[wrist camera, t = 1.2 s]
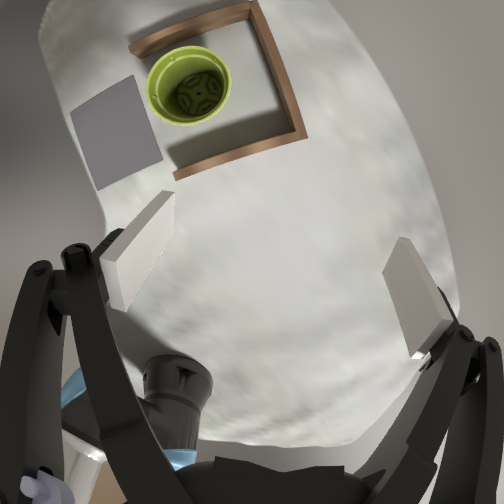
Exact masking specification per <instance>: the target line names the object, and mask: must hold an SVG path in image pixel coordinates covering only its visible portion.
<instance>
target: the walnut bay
mask: <svg viewBox="0 0 504 504" xmlns="http://www.w3.org/2000/svg"><path fill="white" fill-rule="evenodd" d="M248 19H250V20H251V22H252V24H253V27H254V29H255V32H256V34H257V36H258V39H259V41H260V44H261V46H262V49H263V52H264V54H265V57H266V59H267V62H268V65H269V67H270V70H271V73H272V76H273V78H274V81H275V84H276V87H277V90H278V92H279V95H280V98H281V101H282V104H283V107H284V110H285V113H286V116H287V119H288V122H289V125H290V129H291V131H290V132H287V133H283V134H279V135H276V136H272V137H269V138H266V139H262V140H259V141H256V142H252V143H249V144H246V145H243V146H240V147H237V148H234V149H231V150H228V151H225V152H222V153H219V154H216V155H214V156H211V157H208V158H205V159H203V160H200V161H197V162H194V163H192V164H189V165H187V166H184V167H181V168H179V169H178V170H176V171H174V172H173V175H174V178H175V181H178V180H180V179H183V178H185V177H188V176H191V175H193V174H196V173H199V172H201V171H204V170H207V169H210V168H212V167H215V166H218V165H221V164H224V163H227V162H230V161H233V160H236V159H239V158H242V157H245V156H248V155H251V154H254V153H258V152H261V151H264V150H267V149H271V148H274V147H278V146H281V145H285V144H288V143H292V142H295V141H299V140H303V139H307V138H308V136H307V132H306V129H305V126H304V122H303V119H302V116H301V113H300V110H299V107H298V104H297V101H296V98H295V95H294V92H293V89H292V86H291V83H290V80H289V78H288V75H287V72H286V69H285V67H284V64H283V61H282V59H281V56H280V53H279V51H278V48H277V46H276V43H275V41H274V38H273V36H272V33H271V31H270V29H269V26H268V24H267V21H266V19H265V17H264V15H263V12H262V10H261V8H260V6H259V3H258V1H257V0H252V1H248V2H244V3H240V4H236V5H232V6H228V7H225V8H221V9H218V10H215V11H211V12H208V13H205V14H202V15H199V16H196V17H194V18H191V19H188V20H185V21H183V22H180V23H178V24H175V25H173V26H170V27H168V28H165V29H163V30H161V31H158V32H156V33H154V34H152V35H150V36H148V37H145V38H143V39H141V40H139V41H137V42H135V43H133V44H131V45H129V46H128V47H129V50H130V53H131V54H133V55H135V56H137V57H138V58H140V59H142V58H144V57H146V56H148V55H150V54H152V53H154V52H156V51H159V50H161V49H163V48H165V47H168V46H170V45H172V44H175V43H177V42H180V41H182V40H185V39H187V38H190V37H193V36H195V35H198V34H201V33H204V32H207V31H210V30H213V29H216V28H219V27H223V26H226V25H229V24H233V23H236V22H240V21H244V20H248Z"/></svg>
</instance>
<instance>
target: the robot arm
mask: <svg viewBox="0 0 504 504" xmlns="http://www.w3.org/2000/svg"><path fill="white" fill-rule="evenodd" d="M174 206H175V192H170V191H163V190H162V191H161V192H160V193H159V194H158V195H157V196H156V197H155V198H154V199H153V200H152V201H151V202H150V203H149V204H148V205H147V206H146V207H145V208H144V209H143V210H142V211H141V212H140V214H139V215H138V216H137V217H136V218H135V219H134V220H133V221H132V222H131V223H130V224H129V225H128V226H127V227H126V228H125V229H121V228H118V229H116V230H114V231H112V232H111V233H109V235H108V236H107V237H106V238H105V240H103V241H102V242H101V243H100V245H98V246H97V247H96V249H95V250H94V251H93V252H92V253H91V249H90V247H89V246H88V245H86V244H84V243H76V244H72V245H70V246H68V247H67V248H65V249H64V250H63V251H62V254H61V259H62V262H63V266H64V269H65V270H53V267H52V264H51V263H50V262H49V261H47V260H41V261H37V262H35V263H33V264H32V265H31V266H30V267H29V268H28V270H27V272H26V275H25V278H24V280H23V283H22V286H21V289H20V292H19V295H18V298H17V301H16V304H15V308H14V311H13V315H12V318H11V322H10V325H9V329H8V333H7V337H6V341H5V346H4V350H3V355H2V360H1V366H0V504H89V500H90V498H91V494H92V491H93V488H94V485H95V482H96V479H97V476H98V473H99V471H100V467H101V465H102V463H103V462H105V461H108V462H109V464H110V467H111V469H112V471H113V473H114V475H115V477H116V480H117V481H118V484H119V486H120V488H121V490H122V491H123V493H124V495H125V497H126V499H127V502H125V503H123V504H418V503H419V502H420V500H421V498H422V497H423V495H424V493H425V492H426V490H427V488H428V486H429V485H430V483H431V481H432V479H433V477H434V475H435V473H436V471H437V464H436V463H434V458H435V456H436V454H437V452H438V450H439V447H440V445H441V443H442V441H443V439H444V436H445V434H446V432H447V429H448V434H447V439H446V444H445V448H444V453H443V457H442V461H441V465H440V469H439V472H438V476H437V479H436V483H435V486H434V489H433V492H432V495H431V499H430V502H429V504H496V490H497V486H498V480H499V474H500V468H501V460H502V452H503V442H504V375H503V363H502V354H501V349H500V346H499V344H498V342H497V341H496V340H495V339H493V338H492V337H486V338H485V340H484V341H483V342H482V343H481V342H479V341H476V340H475V339H474V336H473V334H472V332H471V331H470V330H469V329H468V328H467V327H465V326H463V325H459V323H458V321H457V318H456V316H455V314H454V312H453V310H452V308H450V304H449V302H448V300H447V298H446V296H445V294H444V293H443V292H442V291H441V289H440V288H439V287H437V286H436V284H435V282H434V280H433V278H432V276H431V275H430V273H429V271H428V269H427V268H426V266H425V264H424V262H423V261H422V259H421V257H420V255H419V254H418V252H417V250H416V249H415V247H414V246H413V244H412V242H411V241H410V239H408V238H404V237H400V236H399V238H398V240H397V242H396V245H395V247H394V249H393V251H392V253H391V256H390V258H389V260H388V262H387V264H386V266H385V268H384V270H383V272H382V274H383V276H384V279H385V282H386V284H387V287H388V290H389V292H390V295H391V298H392V301H393V304H394V307H395V309H396V312H397V315H398V318H399V322H400V325H401V328H402V331H403V334H404V337H405V341H406V344H407V348H408V351H409V355H410V358H411V359H423V358H424V356H425V355H426V354H427V353H428V352H429V351H430V354H431V358H430V359H429V360H428V361H427V362H426V363H425V364H424V365H423V366H422V368H421V369H420V370H419V371H422V370H423V371H422V374H421V375H420V377H419V379H418V381H417V383H416V385H415V387H414V389H413V391H412V393H411V394H410V396H409V398H408V400H407V401H406V403H405V405H404V407H403V408H402V410H401V412H400V413H399V415H398V417H397V418H396V420H395V421H394V423H393V425H392V426H391V428H390V429H389V431H388V432H387V434H386V435H385V437H384V438H383V440H382V441H381V443H380V444H379V446H378V447H377V448H376V450H375V451H374V453H373V454H372V455H371V457H370V458H369V460H368V461H367V462H366V463H365V464H364V465H363V466H362V467H361V468H360V469H359V470H358V471H356V472H355V473H354V474H353V475H352V474H350V473H347V472H344V466H314V467H310V468H305V469H301V470H295V471H289V472H277V471H275V470H271V469H268V468H265V467H262V466H260V465H256V464H254V463H251V462H248V461H241V460H234V459H228V458H222V457H217V456H215V461H206V462H198V463H195V459H196V455H197V441H198V433H199V424H200V415H201V411H202V409H203V407H204V406H205V404H206V402H207V400H208V398H209V397H210V395H211V392H212V386H213V380H212V377H211V375H210V373H209V372H208V371H207V370H206V369H205V368H204V367H203V366H202V365H200V364H198V363H197V362H195V361H193V360H190V359H188V358H185V357H181V356H175V355H163V356H158V357H155V358H153V359H151V360H150V361H149V362H148V363H147V365H146V367H145V370H144V373H143V384H144V396H145V398H144V399H142V398H140V397H138V396H137V395H136V393H135V391H134V388H133V386H132V383H131V381H130V378H129V376H128V373H127V371H126V368H125V365H124V363H123V360H122V357H121V355H120V352H119V349H118V346H117V343H116V340H115V337H114V334H113V331H112V328H111V324H110V321H109V318H108V314H107V311H106V307H105V304H106V303H107V301H108V300H109V301H110V304H111V308H113V309H117V310H120V311H123V312H127V310H128V308H129V306H130V305H131V303H132V301H133V300H134V298H135V296H136V295H137V293H138V291H139V289H140V288H141V286H142V284H143V283H144V281H145V280H146V278H147V276H148V275H149V273H150V271H151V270H152V268H153V267H154V265H155V263H156V262H157V260H158V259H159V257H160V255H161V254H162V252H163V251H164V249H165V248H166V246H167V245H168V243H169V241H170V240H171V238H172V237H173V235H174ZM67 315H70V316H71V320H72V326H73V333H74V338H75V343H76V348H77V353H78V357H79V362H80V366H81V367H80V368H78V369H77V370H76V371H75V372H74V373H73V374H72V375H71V376H70V378H69V379H68V380H67V382H66V383H65V384H64V386H63V387H62V389H61V376H62V359H63V346H64V336H65V327H66V320H67ZM479 376H480V377H479ZM478 377H479V380H478V382H477V383H476V381H477V380H476V379H477V378H478ZM448 427H449V428H448Z"/></svg>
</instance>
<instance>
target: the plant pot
mask: <svg viewBox="0 0 504 504" xmlns="http://www.w3.org/2000/svg"><path fill="white" fill-rule="evenodd" d="M192 78H196V80H193V81H191V82H190V83H188V84H187V82H188V81H189V80H191V79H192ZM212 82H214V83H215V84H216V86H217V90H215V88H214V86H213V85H212ZM231 86H232V79H231V73H230V70H229V68H228V66H227V64H226V62H225V61H224V60H223V59H222V58H221V57H220V56H219V55H218V54H217V53H215V52H214V51H212V50H210V49H207V48H204V47H200V46H184V47H180V48H177V49H174V50H172V51H170V52H168V53H167V54H165V55H164V56H162V57H161V58H160V59H159V60H158V61H157V62H156V63H155V65H154V66H153V67H152V69H151V71H150V73H149V75H148V78H147V82H146V98H147V101H148V104H149V106H150V108H151V109H152V111H153V112H154V113H155V114H156V115H157V116H158V117H159V118H161V119H162V120H164V121H166V122H168V123H171V124H174V125H180V126H189V125H195V124H199V123H202V122H204V121H206V120H208V119H210V118H211V117H213V116H214V115H215V114H217V113H218V112H219V111H220V110H221V108H222V107H223V106H224V105H225V103H226V101H227V100H228V97H229V95H230V92H231ZM198 92H200V93H201V94H200V95H197V93H198ZM182 98H184V101H185V103H186V105H187V106H185V105H184V104H183V103H182V100H181V99H182ZM209 105H211V107H210V108H208V109H207V110H204V111H203V110H202V109H203V108H206V107H207V106H209Z"/></svg>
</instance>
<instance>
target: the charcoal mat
mask: <svg viewBox="0 0 504 504" xmlns="http://www.w3.org/2000/svg"><path fill="white" fill-rule="evenodd" d="M70 115H71V118H72V122H73V125H74V128H75V131H76V134H77V137H78V140H79V143H80V146H81V149H82V152H83V155H84V157H85V160H86V163H87V165H88V168H89V171H90V173H91V176H92V178H93V181H94V183H95V186H96V188H97V191H99V190H101V189H103V188H105V187H107V186H109V185H111V184H113V183H115V182H117V181H119V180H121V179H123V178H125V177H127V176H129V175H131V174H133V173H135V172H137V171H140V170H142V169H144V168H146V167H148V166H151V165H153V164H155V163H158V162H160V161H162V160H163V158H162V155H161V153H160V150H159V147H158V145H157V142H156V139H155V136H154V134H153V131H152V128H151V125H150V123H149V120H148V117H147V114H146V111H145V108H144V105H143V103H142V100H141V97H140V94H139V91H138V88H137V85H136V82H135V79H134V76H133V75H132V76H130V77H129V78H127V79H125V80H123V81H121V82H119V83H117V84H116V85H114V86H112V87H110V88H109V89H107V90H105V91H104V92H102V93H100V94H99V95H97V96H95V97H94V98H92V99H91V100H89V101H87V102H86V103H84V104H83V105H81V106H80V107H78V108H77V109H75V110H74V111H72V112H71V113H70Z"/></svg>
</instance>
